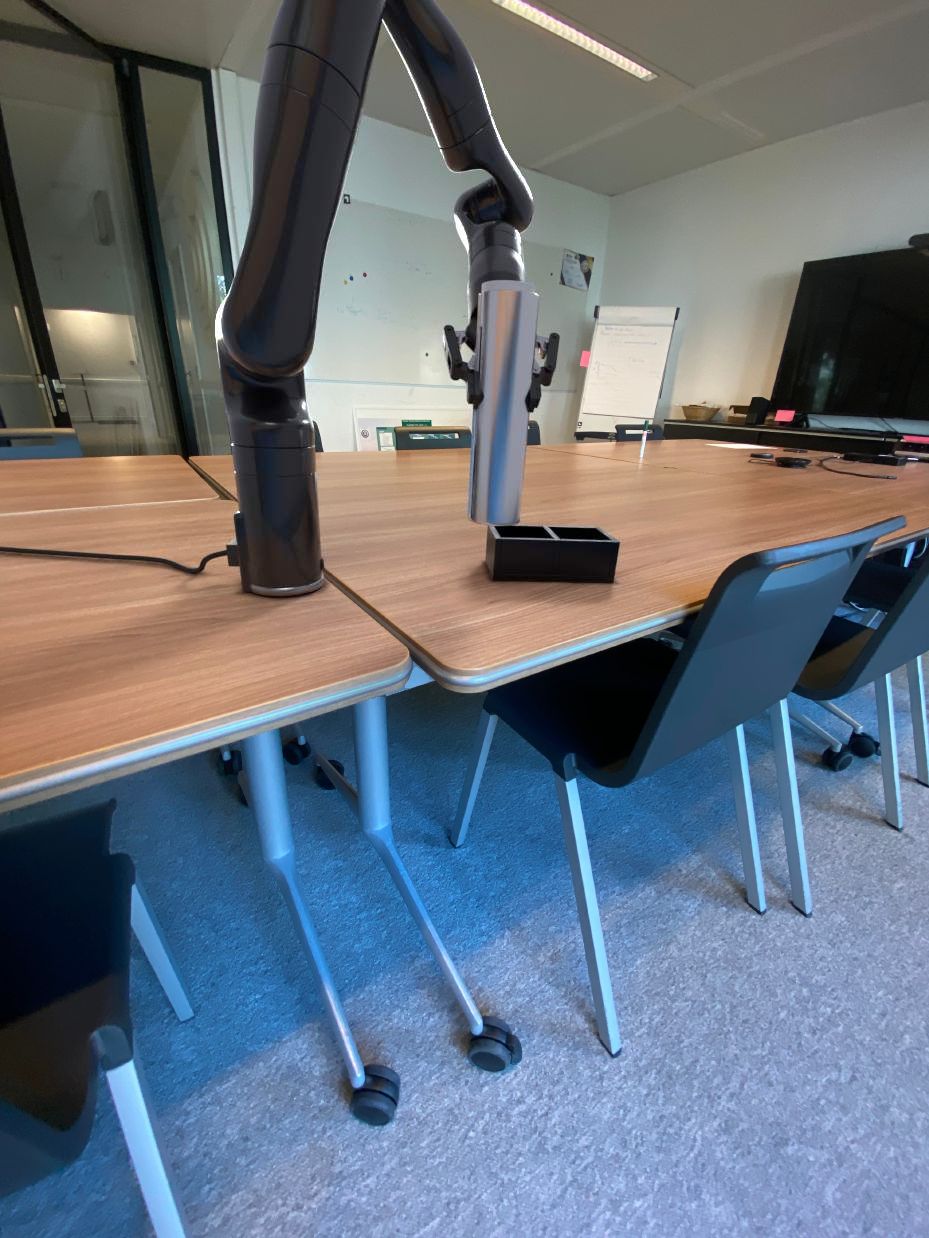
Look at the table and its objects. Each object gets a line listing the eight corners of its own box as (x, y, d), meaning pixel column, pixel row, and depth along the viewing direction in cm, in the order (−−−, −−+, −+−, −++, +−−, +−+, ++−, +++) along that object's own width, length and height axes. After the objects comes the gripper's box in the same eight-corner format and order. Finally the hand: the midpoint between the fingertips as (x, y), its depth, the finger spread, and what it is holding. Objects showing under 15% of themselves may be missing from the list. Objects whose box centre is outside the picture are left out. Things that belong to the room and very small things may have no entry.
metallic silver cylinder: (516, 528, 62) (538, 278, 52) (462, 523, 63) (473, 277, 53) (522, 517, 68) (543, 290, 58) (472, 512, 69) (484, 289, 59)
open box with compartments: (492, 580, 74) (495, 538, 72) (485, 561, 82) (487, 523, 80) (613, 583, 76) (620, 542, 73) (594, 564, 84) (599, 527, 82)
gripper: (441, 263, 61) (441, 374, 55) (563, 273, 62) (577, 383, 56) (438, 321, 68) (438, 426, 62) (548, 329, 69) (559, 432, 63)
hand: (504, 405), depth 59 cm, fingers closed on metallic silver cylinder, 5 cm apart
